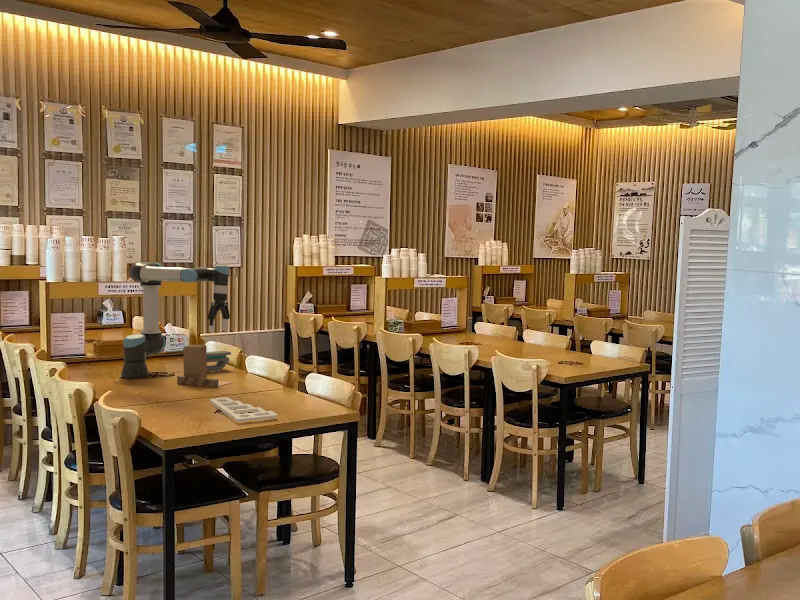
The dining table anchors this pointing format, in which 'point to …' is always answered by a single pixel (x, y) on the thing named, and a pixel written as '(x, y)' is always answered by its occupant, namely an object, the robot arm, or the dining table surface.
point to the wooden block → (195, 361)
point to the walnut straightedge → (197, 381)
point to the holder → (241, 410)
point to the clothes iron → (217, 360)
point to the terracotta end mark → (223, 383)
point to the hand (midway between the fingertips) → (217, 331)
